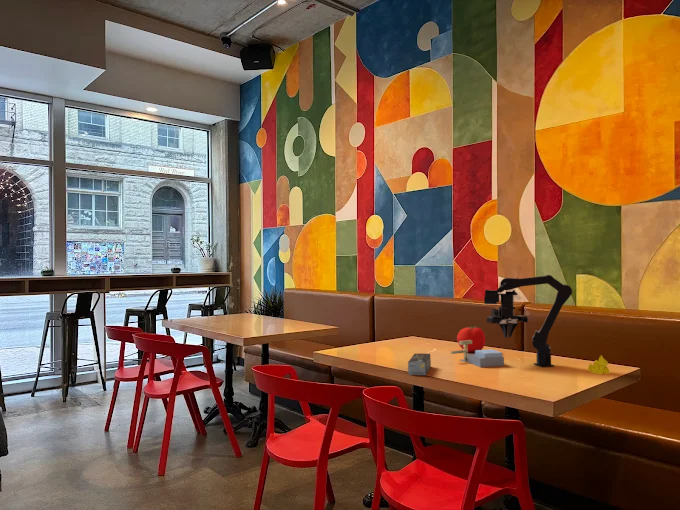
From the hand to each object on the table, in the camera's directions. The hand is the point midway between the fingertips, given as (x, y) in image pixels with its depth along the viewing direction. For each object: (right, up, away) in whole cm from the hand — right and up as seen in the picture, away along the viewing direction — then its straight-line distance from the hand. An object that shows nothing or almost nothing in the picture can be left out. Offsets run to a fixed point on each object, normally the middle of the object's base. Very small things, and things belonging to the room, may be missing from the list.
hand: (507, 337), depth 244 cm
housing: (-12, -12, +1) cm, 17 cm away
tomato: (-10, -13, +32) cm, 35 cm away
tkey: (-21, -12, +5) cm, 24 cm away
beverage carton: (-44, -13, -15) cm, 48 cm away
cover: (-10, -8, -2) cm, 13 cm away
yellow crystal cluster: (+33, -12, -21) cm, 40 cm away
